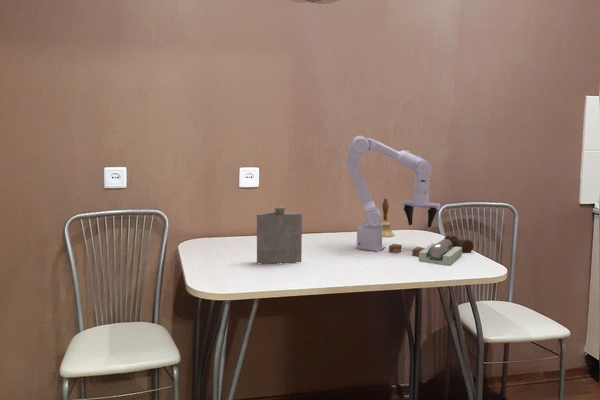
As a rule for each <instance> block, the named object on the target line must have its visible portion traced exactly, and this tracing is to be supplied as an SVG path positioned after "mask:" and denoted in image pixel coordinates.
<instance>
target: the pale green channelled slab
mask: <svg viewBox="0 0 600 400" xmlns="http://www.w3.org/2000/svg"><path fill="white" fill-rule="evenodd" d="M435 244H436V243H431V244H430V245H428V246H426V247H424V248H425V249H423V250H422V251H420V252H419V256H418V262H424V263H431V264H438V265H443V266H451V265H452V264H454V263H455V262H456V261H457V260H458V259H460V257H462V255H463V253H462V247H456V246H455V247H452V249H451V250H450V251H449V252H447V253H446V254H445V255H443V257H441V258H440V259H439V260H432V259H430V258H429V256H428V250H429V248H431V247H432V246H434V245H435Z"/></svg>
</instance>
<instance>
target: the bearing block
mask: <svg viewBox="0 0 600 400" xmlns="http://www.w3.org/2000/svg"><path fill="white" fill-rule="evenodd" d="M402 247H403V246H402V244H398V243H392V244H390V245H389V246H388V252H389V253H393V254H399V253H401V252H402ZM425 248H426V247H419V246H415V247H413V248H412V255H411V256H413V257H414V256H415V257H419V252H420V251H422V250H423V249H425Z"/></svg>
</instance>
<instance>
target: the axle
mask: <svg viewBox="0 0 600 400" xmlns="http://www.w3.org/2000/svg"><path fill="white" fill-rule="evenodd" d="M434 244H435V245H434V246H432V247H431V248H429V250H428V256H429V258H430V259H432V260H439V259H440V258H441V257H443V255H445V254H446V253H447V252H449V251H450V250H451V249H453V248H454V247H453V245H452V242H451V241H450V240H448V239H444V238H443V239H441V240H440V241H437V243H434Z"/></svg>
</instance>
